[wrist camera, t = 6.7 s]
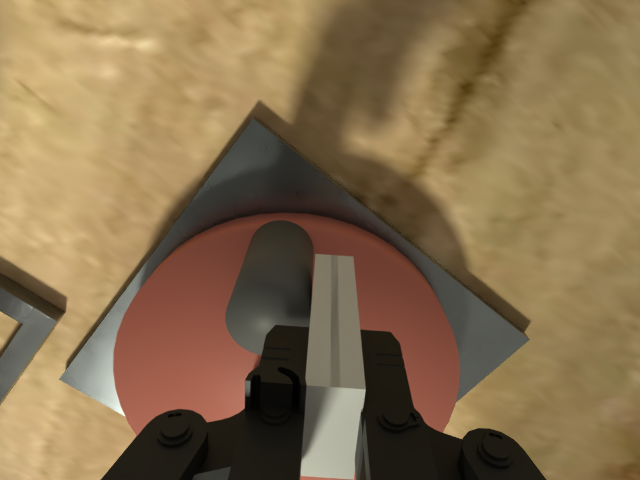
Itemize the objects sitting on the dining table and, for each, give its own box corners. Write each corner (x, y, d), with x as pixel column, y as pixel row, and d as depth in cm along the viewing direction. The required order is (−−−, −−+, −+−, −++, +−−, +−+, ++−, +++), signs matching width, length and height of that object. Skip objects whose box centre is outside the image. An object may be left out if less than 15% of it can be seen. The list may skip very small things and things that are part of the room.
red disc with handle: (435, 478, 26) (473, 621, 20) (152, 480, 26) (97, 623, 20) (468, 204, 20) (539, 280, 14) (99, 207, 20) (-8, 283, 14)
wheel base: (64, 371, 25) (59, 379, 24) (254, 116, 20) (253, 118, 19) (314, 513, 29) (314, 523, 28) (524, 332, 24) (529, 339, 23)
